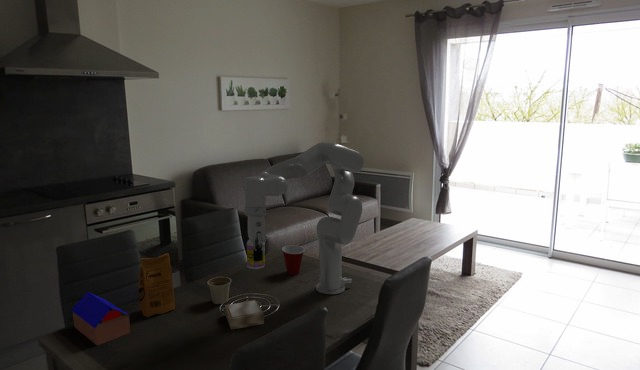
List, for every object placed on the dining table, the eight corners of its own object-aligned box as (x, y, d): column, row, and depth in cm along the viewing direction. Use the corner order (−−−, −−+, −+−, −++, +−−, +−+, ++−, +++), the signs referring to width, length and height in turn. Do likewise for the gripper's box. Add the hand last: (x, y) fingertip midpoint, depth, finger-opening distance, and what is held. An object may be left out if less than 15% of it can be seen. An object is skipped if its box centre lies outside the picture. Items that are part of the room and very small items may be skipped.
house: (96, 347, 148) (93, 314, 146) (73, 327, 161) (69, 297, 159) (131, 333, 157) (129, 301, 155) (106, 315, 170) (104, 286, 168)
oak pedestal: (256, 309, 174) (256, 299, 173) (264, 323, 163) (263, 312, 162) (225, 315, 170) (225, 304, 169) (230, 329, 158) (230, 318, 158)
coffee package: (138, 309, 175) (133, 255, 171) (170, 301, 182) (166, 249, 178) (143, 319, 167) (138, 262, 163) (177, 311, 173) (173, 256, 169)
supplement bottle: (243, 268, 165) (243, 234, 163) (252, 262, 171) (252, 230, 169) (259, 270, 163) (259, 236, 161) (268, 265, 169) (268, 232, 167)
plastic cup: (298, 278, 205) (298, 253, 203) (278, 274, 209) (277, 250, 207) (309, 270, 214) (308, 246, 212) (289, 267, 219) (288, 243, 217)
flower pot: (226, 307, 176) (225, 286, 175) (204, 305, 178) (203, 284, 176) (235, 297, 185) (235, 277, 184) (214, 295, 187) (213, 276, 185)
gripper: (271, 215, 157) (271, 264, 160) (260, 205, 173) (260, 249, 176) (250, 216, 154) (250, 266, 157) (240, 206, 170) (241, 251, 173)
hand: (255, 257), depth 166 cm, fingers closed on supplement bottle, 6 cm apart
